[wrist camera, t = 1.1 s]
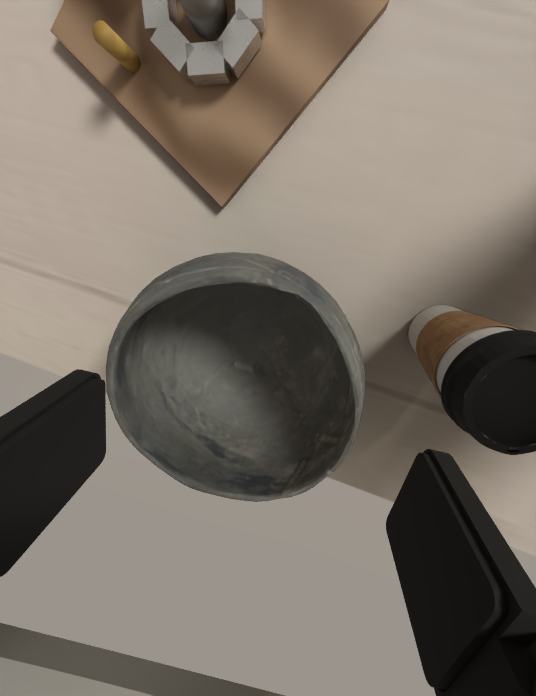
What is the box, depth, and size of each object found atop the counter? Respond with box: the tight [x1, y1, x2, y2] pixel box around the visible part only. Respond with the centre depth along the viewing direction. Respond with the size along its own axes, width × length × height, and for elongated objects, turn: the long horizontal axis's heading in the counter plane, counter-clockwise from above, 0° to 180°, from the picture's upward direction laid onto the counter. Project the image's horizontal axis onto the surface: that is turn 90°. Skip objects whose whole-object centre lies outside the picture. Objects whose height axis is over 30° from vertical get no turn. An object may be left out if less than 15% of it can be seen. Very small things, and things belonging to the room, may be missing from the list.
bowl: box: [106, 252, 365, 502], centre depth 30 cm, size 21×21×15 cm
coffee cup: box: [408, 305, 536, 455], centre depth 27 cm, size 8×8×15 cm
